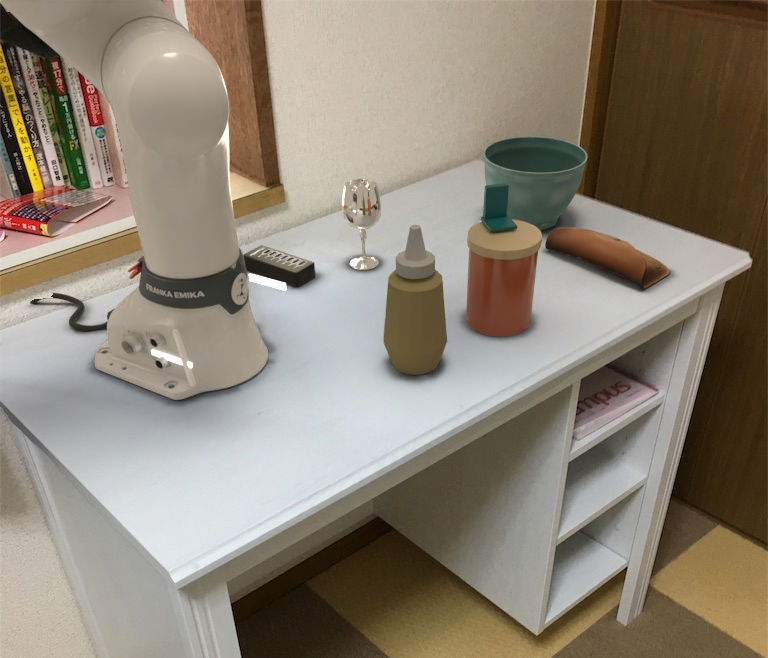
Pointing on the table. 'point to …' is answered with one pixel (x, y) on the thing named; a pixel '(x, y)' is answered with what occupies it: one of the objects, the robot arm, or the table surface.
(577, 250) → the sunglasses case
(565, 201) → the flower pot
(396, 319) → the squeeze bottle
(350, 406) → the table surface
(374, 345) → the table surface
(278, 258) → the multiport hub
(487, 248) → the cup lid
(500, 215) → the teal l-shaped bracket
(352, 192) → the wineglass
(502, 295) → the lidded orange canister
